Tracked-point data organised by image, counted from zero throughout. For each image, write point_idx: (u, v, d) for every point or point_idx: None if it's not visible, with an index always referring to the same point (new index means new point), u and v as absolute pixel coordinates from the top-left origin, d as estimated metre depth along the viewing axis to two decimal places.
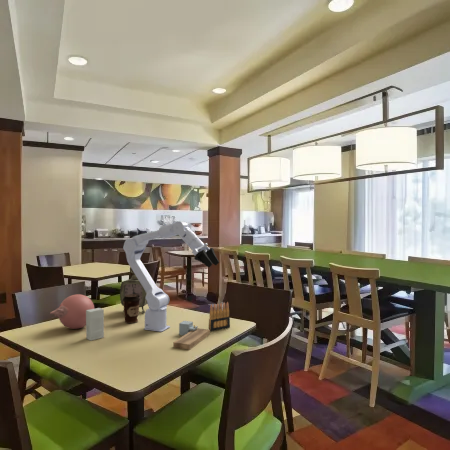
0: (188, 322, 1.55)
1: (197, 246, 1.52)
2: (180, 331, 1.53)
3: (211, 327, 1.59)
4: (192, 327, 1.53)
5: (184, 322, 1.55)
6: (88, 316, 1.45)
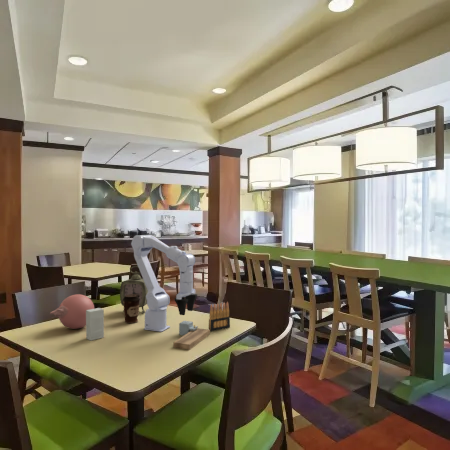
0: (188, 322, 1.55)
1: (185, 290, 1.52)
2: (180, 331, 1.53)
3: (211, 327, 1.59)
4: (192, 327, 1.53)
5: (184, 322, 1.55)
6: (88, 316, 1.45)
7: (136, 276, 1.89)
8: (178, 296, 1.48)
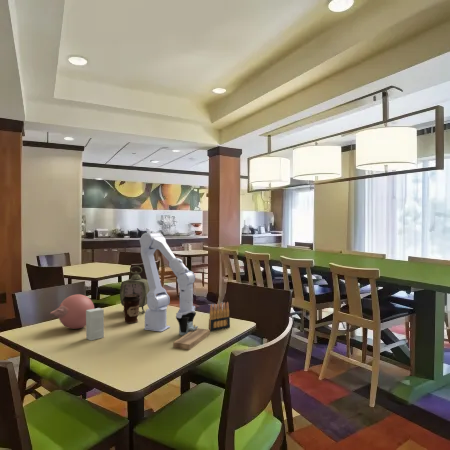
0: (188, 322, 1.55)
1: (185, 308, 1.52)
2: (180, 331, 1.53)
3: (211, 327, 1.59)
4: (192, 327, 1.53)
5: None
6: (88, 316, 1.45)
7: (136, 276, 1.89)
8: (178, 315, 1.48)
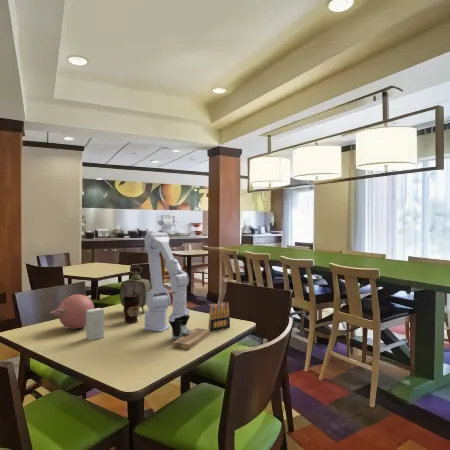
0: (181, 325, 1.49)
1: (178, 311, 1.46)
2: (173, 335, 1.47)
3: (211, 327, 1.59)
4: (185, 331, 1.47)
5: None
6: (88, 316, 1.45)
7: (136, 276, 1.89)
8: (171, 318, 1.42)
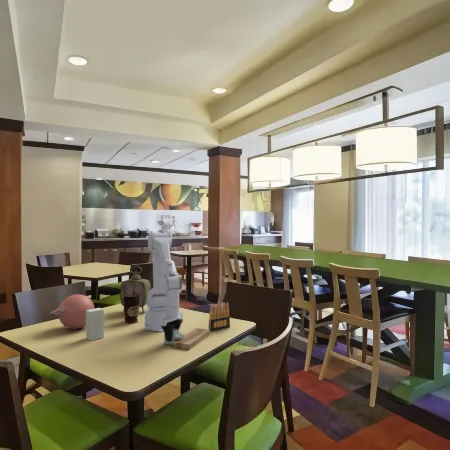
0: (174, 330, 1.43)
1: (170, 315, 1.40)
2: (165, 339, 1.41)
3: (211, 327, 1.59)
4: (178, 335, 1.41)
5: None
6: (88, 316, 1.45)
7: (136, 276, 1.89)
8: (162, 322, 1.36)
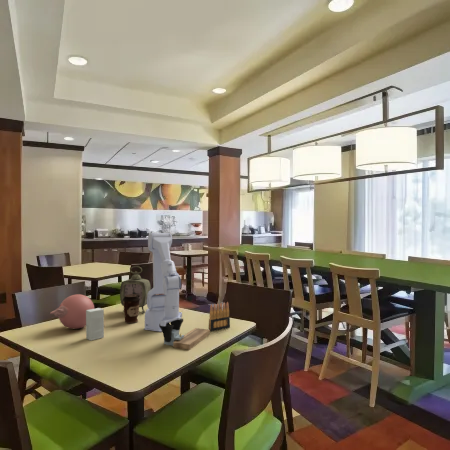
0: (174, 330, 1.43)
1: (170, 315, 1.40)
2: None
3: (211, 327, 1.59)
4: (178, 336, 1.41)
5: None
6: (88, 316, 1.45)
7: (136, 276, 1.89)
8: (162, 322, 1.36)
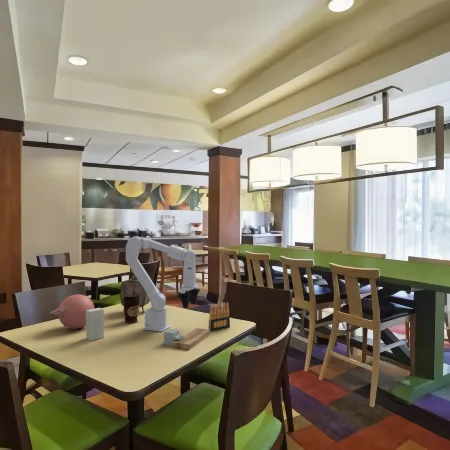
0: (174, 330, 1.43)
1: (188, 284, 1.61)
2: (165, 340, 1.41)
3: (211, 327, 1.59)
4: (178, 336, 1.41)
5: (169, 330, 1.43)
6: (88, 316, 1.45)
7: None
8: (182, 290, 1.57)
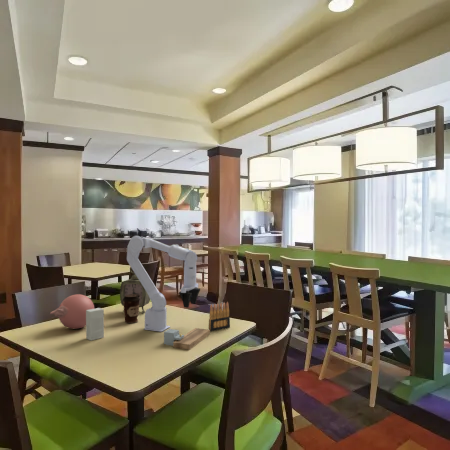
0: (174, 330, 1.43)
1: (189, 284, 1.62)
2: (165, 340, 1.41)
3: (211, 327, 1.59)
4: (178, 336, 1.41)
5: (169, 330, 1.43)
6: (88, 316, 1.45)
7: (136, 276, 1.89)
8: (182, 290, 1.58)
